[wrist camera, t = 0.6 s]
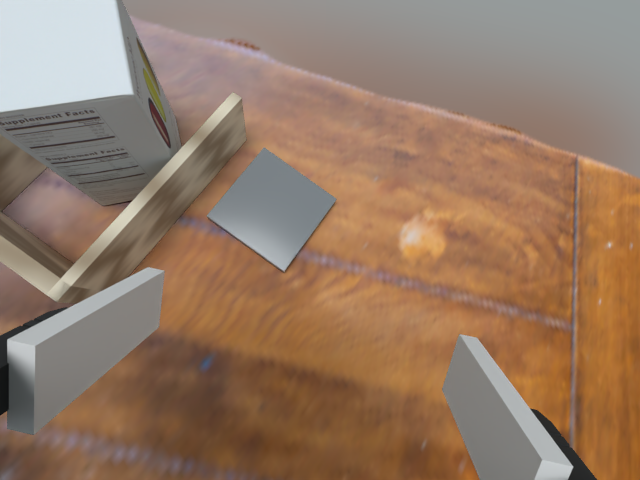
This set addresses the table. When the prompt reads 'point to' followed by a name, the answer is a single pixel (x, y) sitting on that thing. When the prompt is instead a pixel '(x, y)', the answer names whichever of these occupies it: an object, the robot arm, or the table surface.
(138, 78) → the supplement box
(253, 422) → the table surface
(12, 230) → the shelf bay
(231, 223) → the plate
